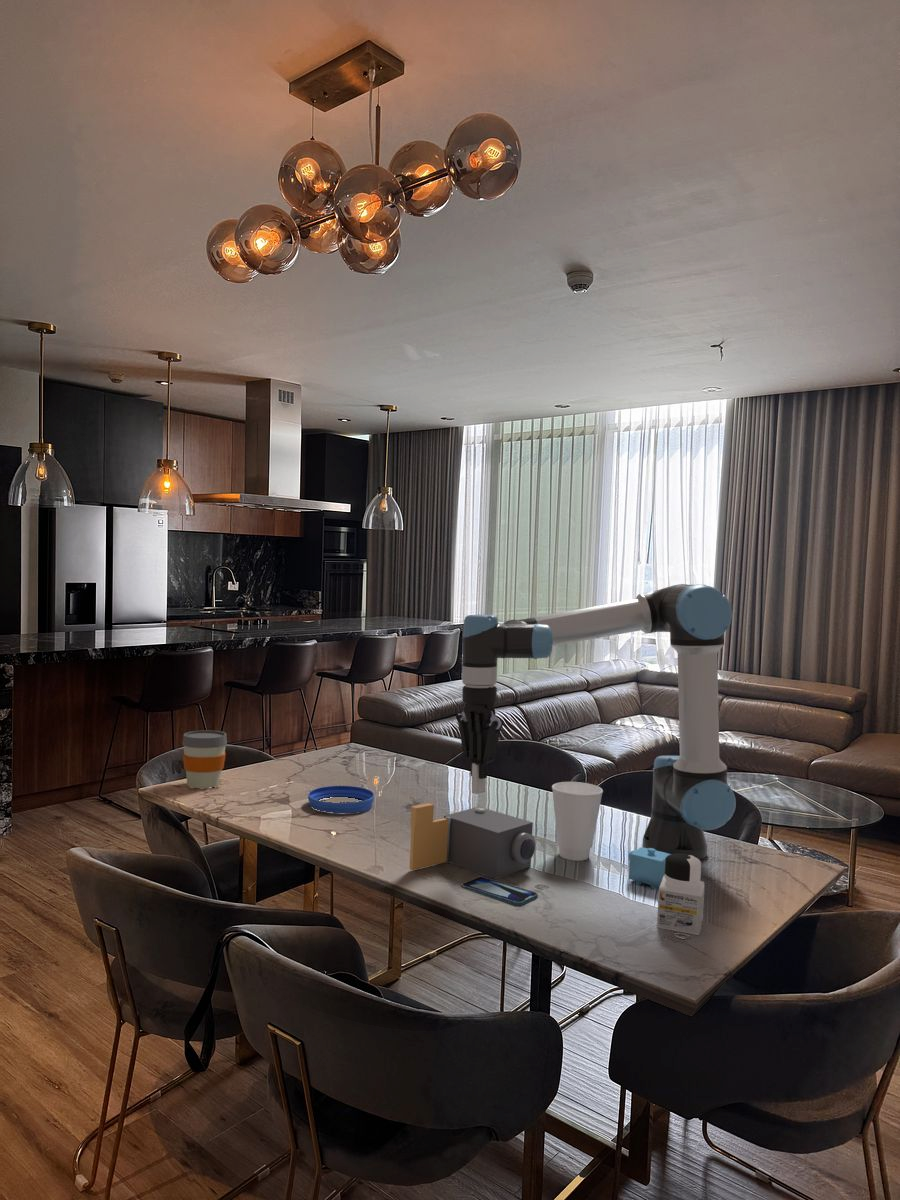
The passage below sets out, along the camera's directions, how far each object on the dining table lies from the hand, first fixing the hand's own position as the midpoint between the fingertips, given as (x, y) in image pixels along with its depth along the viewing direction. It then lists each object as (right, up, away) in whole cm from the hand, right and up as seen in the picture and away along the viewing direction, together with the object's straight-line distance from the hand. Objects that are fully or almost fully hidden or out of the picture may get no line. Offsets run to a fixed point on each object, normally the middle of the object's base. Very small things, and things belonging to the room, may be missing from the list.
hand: (478, 792), depth 183 cm
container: (+37, -20, -25) cm, 49 cm away
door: (-11, -16, +1) cm, 20 cm away
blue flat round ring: (-36, -15, +46) cm, 60 cm away
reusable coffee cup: (-78, -12, +61) cm, 100 cm away
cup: (+23, -18, +12) cm, 31 cm away
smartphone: (+4, -18, -12) cm, 22 cm away
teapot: (+37, -19, -4) cm, 42 cm away
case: (+3, -17, +4) cm, 18 cm away
